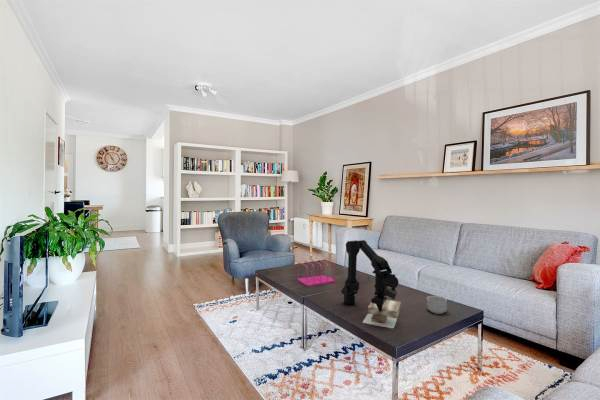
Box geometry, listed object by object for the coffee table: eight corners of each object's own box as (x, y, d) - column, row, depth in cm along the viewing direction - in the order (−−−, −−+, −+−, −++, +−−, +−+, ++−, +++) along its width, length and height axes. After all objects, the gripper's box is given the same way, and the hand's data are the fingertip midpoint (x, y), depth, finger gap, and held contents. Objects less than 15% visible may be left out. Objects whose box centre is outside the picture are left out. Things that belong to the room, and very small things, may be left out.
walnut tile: (373, 313, 170) (373, 317, 170) (371, 317, 164) (371, 321, 164) (386, 315, 166) (386, 319, 167) (384, 319, 161) (384, 323, 161)
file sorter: (336, 282, 234) (336, 262, 234) (306, 287, 224) (306, 265, 223) (324, 276, 250) (324, 257, 249) (296, 280, 239) (296, 260, 239)
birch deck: (367, 313, 175) (367, 306, 175) (373, 304, 189) (373, 298, 189) (397, 318, 168) (397, 311, 168) (400, 308, 182) (400, 301, 182)
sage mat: (362, 322, 163) (362, 322, 163) (367, 313, 175) (367, 313, 175) (393, 328, 156) (393, 328, 156) (397, 318, 168) (397, 318, 168)
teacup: (440, 317, 170) (440, 303, 170) (422, 311, 179) (422, 297, 178) (453, 311, 178) (453, 297, 178) (435, 305, 187) (435, 292, 187)
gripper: (393, 290, 154) (393, 320, 154) (398, 280, 171) (398, 307, 171) (371, 287, 158) (371, 317, 159) (378, 277, 175) (378, 304, 176)
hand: (380, 311), depth 166 cm, fingers closed
